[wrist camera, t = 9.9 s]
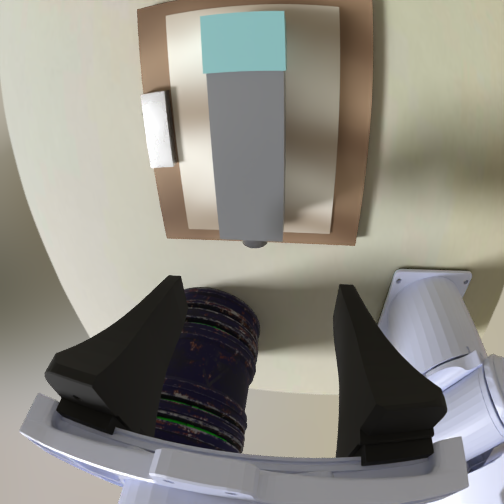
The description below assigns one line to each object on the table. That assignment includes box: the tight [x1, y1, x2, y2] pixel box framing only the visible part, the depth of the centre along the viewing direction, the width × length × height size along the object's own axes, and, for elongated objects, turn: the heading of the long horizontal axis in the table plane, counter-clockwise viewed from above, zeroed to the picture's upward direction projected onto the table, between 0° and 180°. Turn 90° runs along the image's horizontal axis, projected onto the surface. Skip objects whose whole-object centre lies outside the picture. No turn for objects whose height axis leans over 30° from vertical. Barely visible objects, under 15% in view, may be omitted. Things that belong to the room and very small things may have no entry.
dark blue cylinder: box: [154, 287, 260, 453], centre depth 24 cm, size 10×10×15 cm
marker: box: [200, 11, 287, 248], centre depth 16 cm, size 14×4×4 cm, turn 2°
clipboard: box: [137, 0, 373, 246], centre depth 17 cm, size 17×14×2 cm
